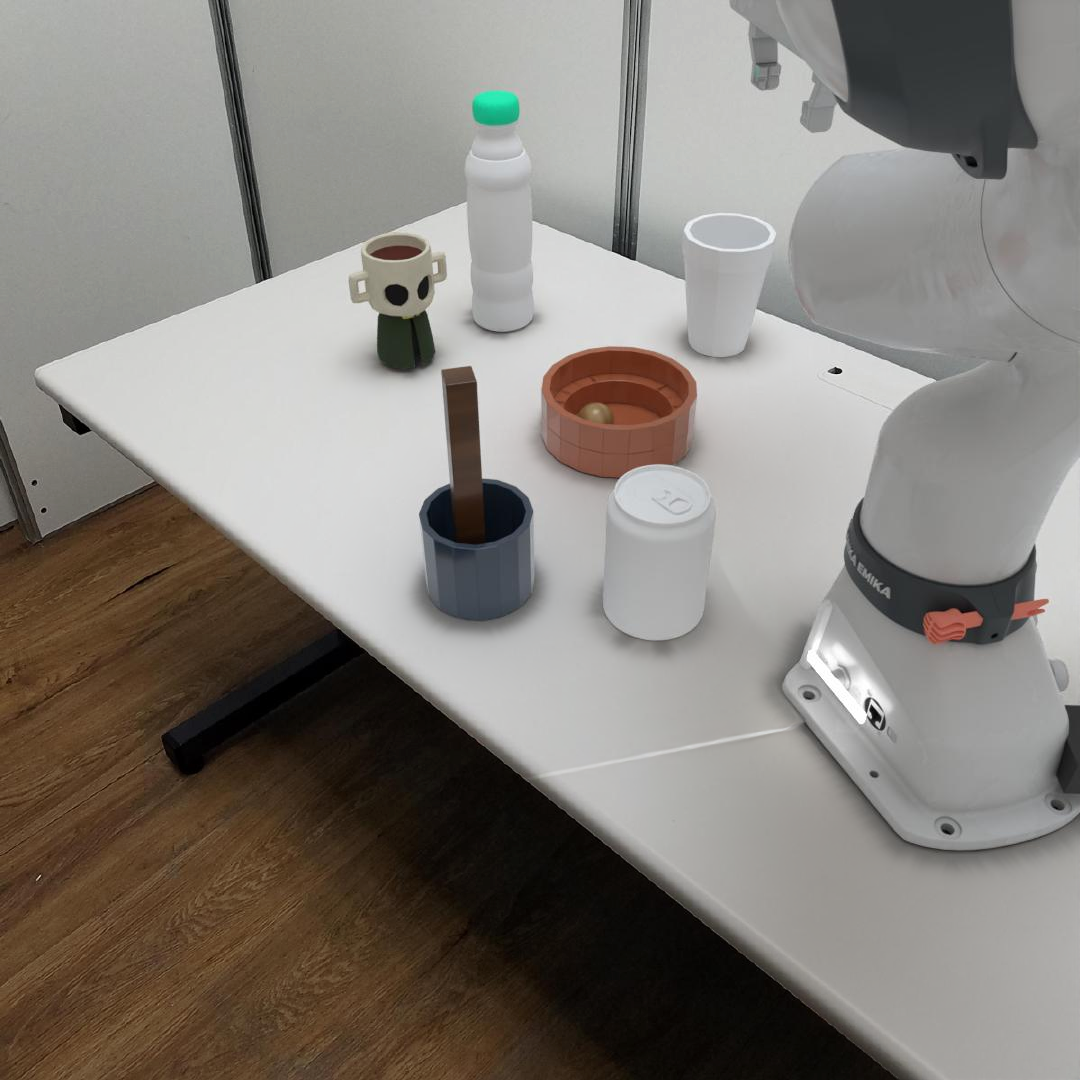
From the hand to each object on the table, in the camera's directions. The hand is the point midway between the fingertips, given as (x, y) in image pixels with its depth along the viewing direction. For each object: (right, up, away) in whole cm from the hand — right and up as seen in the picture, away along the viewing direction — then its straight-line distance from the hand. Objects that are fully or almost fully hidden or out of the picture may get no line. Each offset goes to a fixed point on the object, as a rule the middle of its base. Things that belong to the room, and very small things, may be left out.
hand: (788, 107), depth 80 cm
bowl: (-11, -22, +25) cm, 35 cm away
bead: (-13, -21, +23) cm, 34 cm away
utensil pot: (-24, -36, +9) cm, 44 cm away
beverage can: (-9, -38, +7) cm, 40 cm away
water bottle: (-23, -7, +43) cm, 50 cm away
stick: (-24, -36, +8) cm, 44 cm away
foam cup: (+1, -11, +39) cm, 40 cm away
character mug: (-33, -13, +37) cm, 51 cm away
